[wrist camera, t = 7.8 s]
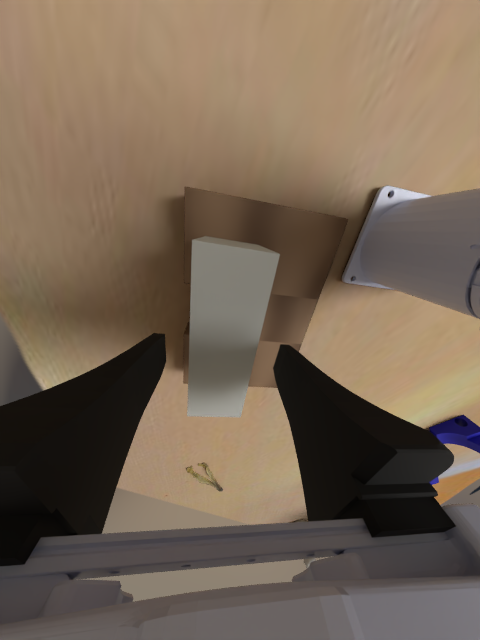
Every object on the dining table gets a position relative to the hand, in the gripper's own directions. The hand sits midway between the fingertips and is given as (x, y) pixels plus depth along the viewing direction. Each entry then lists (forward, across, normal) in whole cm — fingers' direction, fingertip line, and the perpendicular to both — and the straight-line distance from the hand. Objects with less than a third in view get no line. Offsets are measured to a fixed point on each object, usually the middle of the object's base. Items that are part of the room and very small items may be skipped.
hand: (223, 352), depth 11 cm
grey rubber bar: (+6, 0, 0) cm, 6 cm away
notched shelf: (+8, -2, 0) cm, 8 cm away
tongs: (+9, -2, +38) cm, 39 cm away
